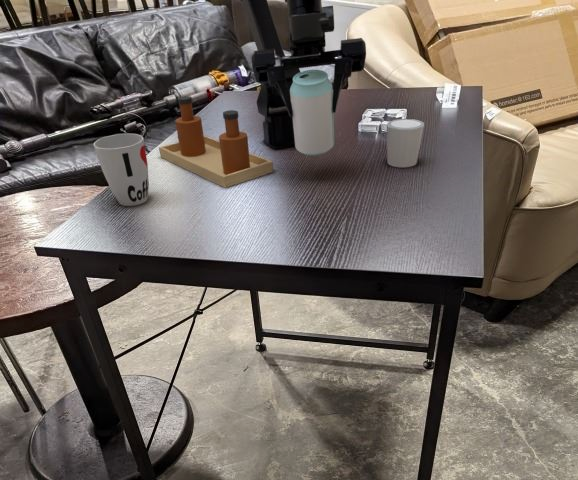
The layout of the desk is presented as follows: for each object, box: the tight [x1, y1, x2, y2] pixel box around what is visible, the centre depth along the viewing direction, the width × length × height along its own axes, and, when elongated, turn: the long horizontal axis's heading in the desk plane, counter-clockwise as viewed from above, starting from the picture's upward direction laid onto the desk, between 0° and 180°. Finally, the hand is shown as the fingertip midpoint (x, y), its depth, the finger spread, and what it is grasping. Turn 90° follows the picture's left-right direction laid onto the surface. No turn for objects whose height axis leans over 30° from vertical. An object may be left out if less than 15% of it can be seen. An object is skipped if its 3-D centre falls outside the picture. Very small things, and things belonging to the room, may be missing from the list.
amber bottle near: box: [218, 109, 250, 175], centre depth 97 cm, size 5×5×10 cm
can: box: [290, 69, 335, 157], centre depth 90 cm, size 7×7×12 cm
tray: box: [158, 134, 274, 189], centre depth 105 cm, size 24×11×2 cm, turn 39°
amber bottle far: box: [174, 95, 206, 157], centre depth 107 cm, size 5×5×10 cm
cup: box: [93, 133, 150, 207], centre depth 90 cm, size 8×8×10 cm
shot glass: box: [386, 118, 425, 168], centre depth 99 cm, size 7×7×7 cm
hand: (312, 114), depth 89 cm, fingers closed on can, 7 cm apart
